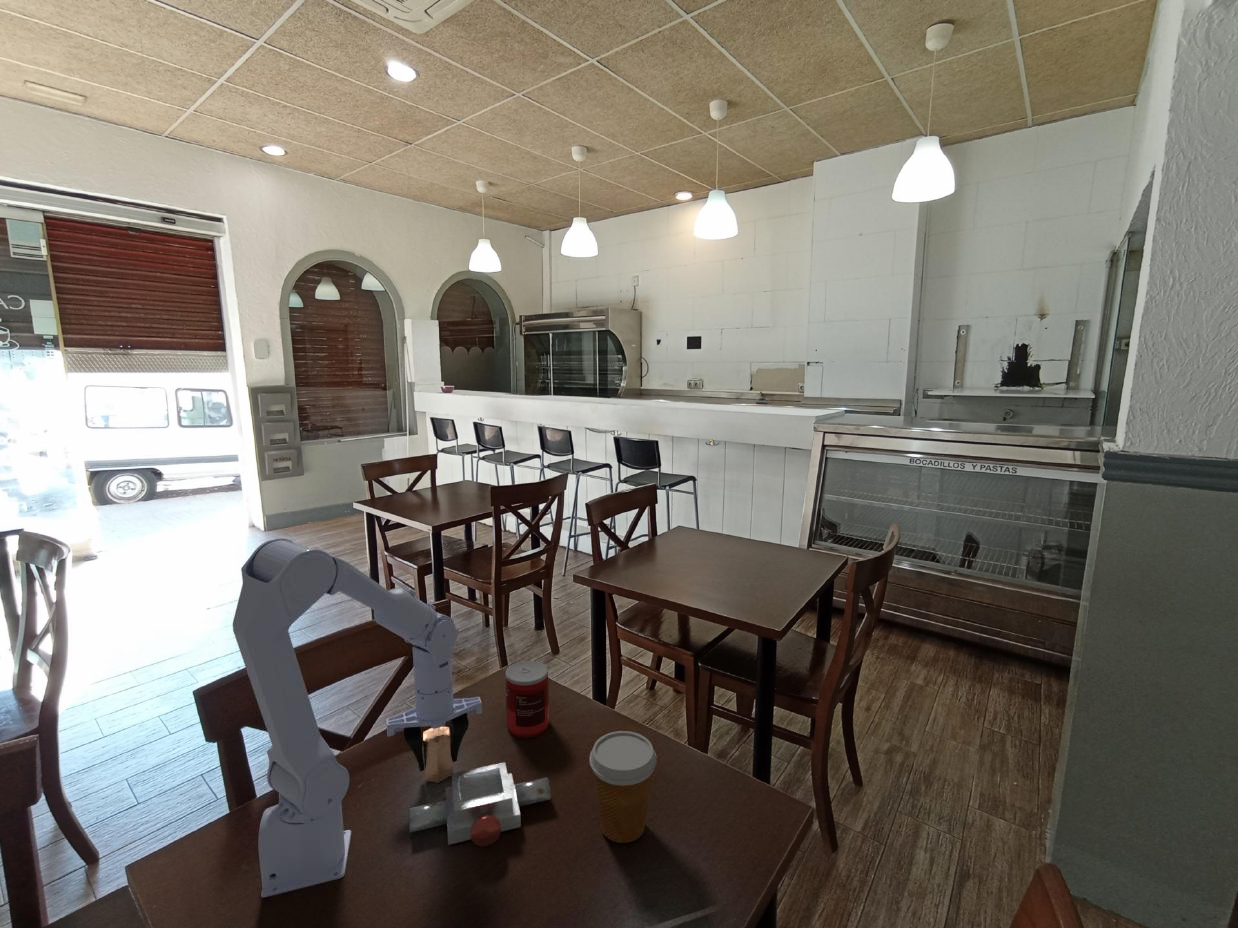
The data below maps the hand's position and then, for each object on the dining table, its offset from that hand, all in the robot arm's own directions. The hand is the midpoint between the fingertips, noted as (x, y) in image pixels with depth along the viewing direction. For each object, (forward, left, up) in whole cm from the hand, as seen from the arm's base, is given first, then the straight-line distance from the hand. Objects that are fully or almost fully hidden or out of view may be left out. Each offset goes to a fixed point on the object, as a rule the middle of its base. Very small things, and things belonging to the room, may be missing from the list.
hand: (437, 762), depth 92 cm
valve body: (+6, -11, -2) cm, 13 cm away
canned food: (+16, +8, -2) cm, 18 cm away
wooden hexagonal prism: (0, 0, -2) cm, 2 cm away
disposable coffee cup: (+25, -20, -2) cm, 32 cm away
